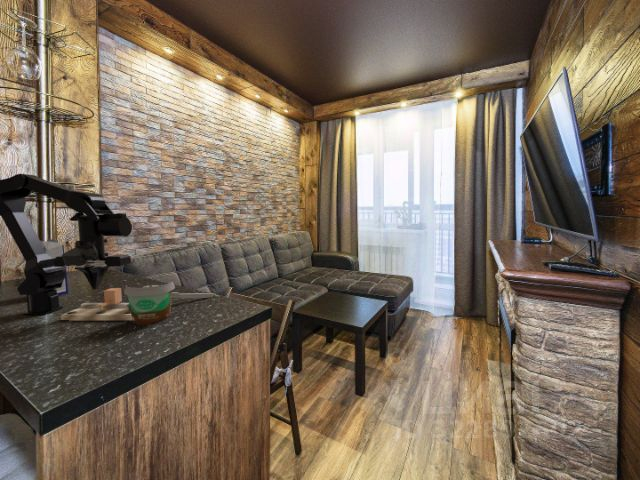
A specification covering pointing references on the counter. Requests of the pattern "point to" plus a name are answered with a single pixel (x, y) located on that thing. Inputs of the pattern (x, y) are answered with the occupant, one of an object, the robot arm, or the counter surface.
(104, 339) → the counter surface
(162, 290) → the food container
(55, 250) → the milk carton
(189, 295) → the caliper
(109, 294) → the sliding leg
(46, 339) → the counter surface
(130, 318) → the hole plate
